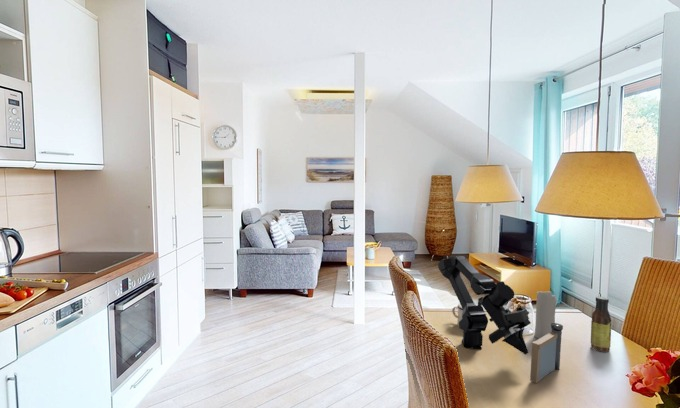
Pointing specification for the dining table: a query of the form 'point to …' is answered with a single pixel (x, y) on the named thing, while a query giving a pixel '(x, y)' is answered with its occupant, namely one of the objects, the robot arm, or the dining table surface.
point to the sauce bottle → (601, 326)
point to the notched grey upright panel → (544, 313)
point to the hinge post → (557, 342)
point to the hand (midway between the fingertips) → (527, 353)
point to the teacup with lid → (460, 311)
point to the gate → (543, 356)
